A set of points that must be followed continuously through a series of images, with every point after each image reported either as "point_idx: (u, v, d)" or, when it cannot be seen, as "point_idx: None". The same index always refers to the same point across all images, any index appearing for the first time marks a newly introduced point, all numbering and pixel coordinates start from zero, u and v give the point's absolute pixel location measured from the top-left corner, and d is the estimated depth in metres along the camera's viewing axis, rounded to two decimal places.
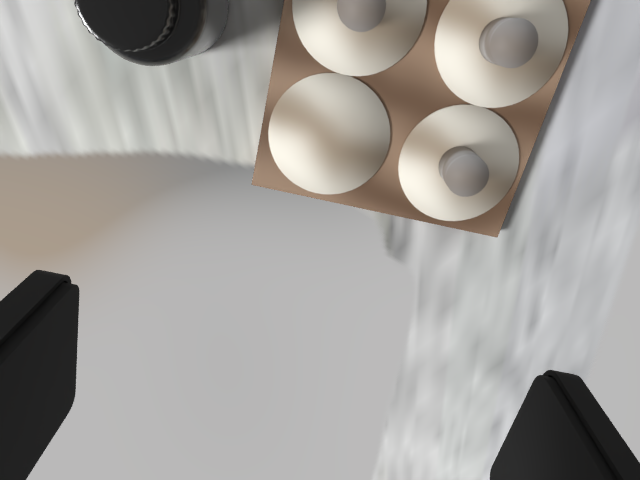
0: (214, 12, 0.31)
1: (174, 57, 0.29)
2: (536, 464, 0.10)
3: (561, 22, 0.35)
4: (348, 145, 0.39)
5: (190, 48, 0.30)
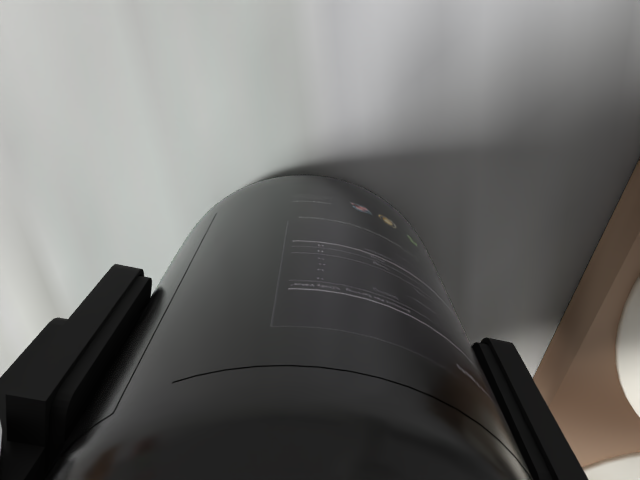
0: None
1: None
2: None
3: None
4: None
5: None
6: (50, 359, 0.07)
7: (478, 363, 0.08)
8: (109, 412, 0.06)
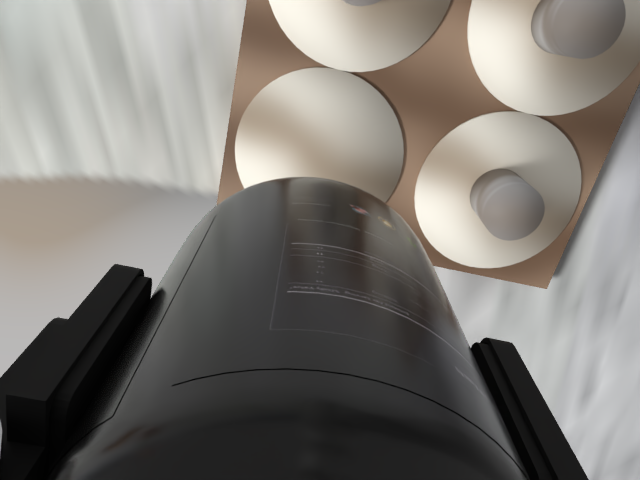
0: None
1: None
2: None
3: None
4: (345, 168, 0.28)
5: None
6: (50, 359, 0.07)
7: (477, 365, 0.08)
8: (107, 415, 0.06)
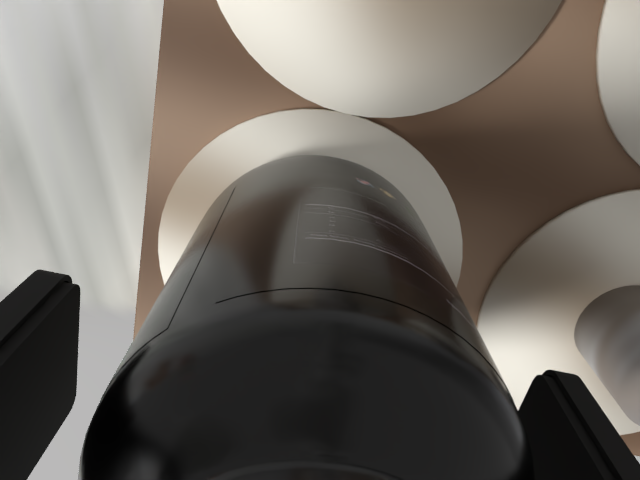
0: None
1: None
2: (535, 464, 0.10)
3: None
4: None
5: None
6: None
7: (466, 308, 0.10)
8: (162, 329, 0.07)
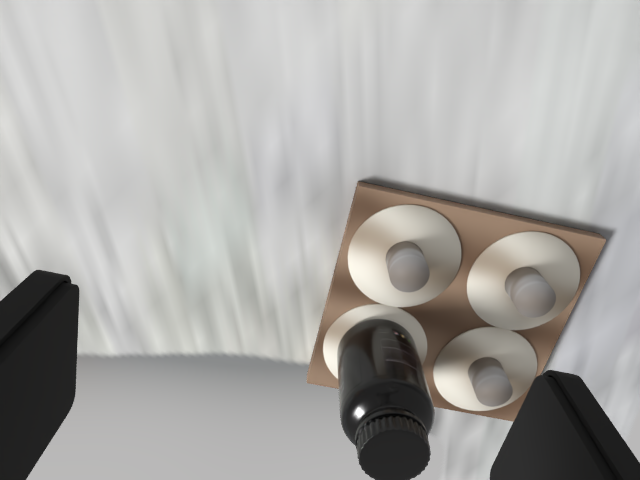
0: None
1: None
2: (536, 464, 0.10)
3: (574, 270, 0.42)
4: None
5: None
6: None
7: (422, 373, 0.39)
8: (360, 382, 0.37)
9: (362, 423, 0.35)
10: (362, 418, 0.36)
